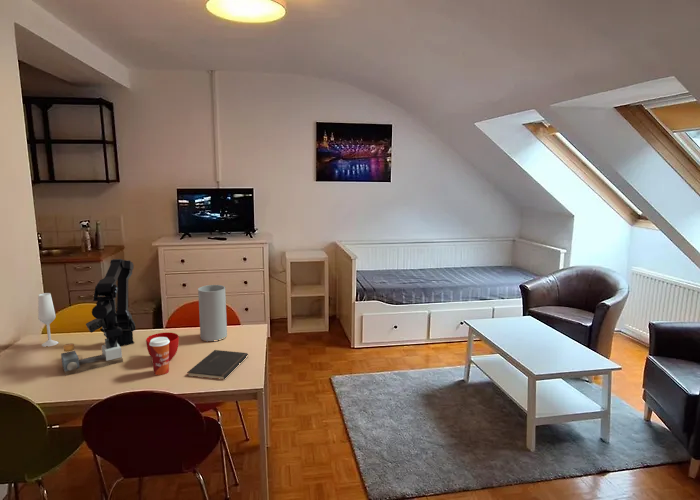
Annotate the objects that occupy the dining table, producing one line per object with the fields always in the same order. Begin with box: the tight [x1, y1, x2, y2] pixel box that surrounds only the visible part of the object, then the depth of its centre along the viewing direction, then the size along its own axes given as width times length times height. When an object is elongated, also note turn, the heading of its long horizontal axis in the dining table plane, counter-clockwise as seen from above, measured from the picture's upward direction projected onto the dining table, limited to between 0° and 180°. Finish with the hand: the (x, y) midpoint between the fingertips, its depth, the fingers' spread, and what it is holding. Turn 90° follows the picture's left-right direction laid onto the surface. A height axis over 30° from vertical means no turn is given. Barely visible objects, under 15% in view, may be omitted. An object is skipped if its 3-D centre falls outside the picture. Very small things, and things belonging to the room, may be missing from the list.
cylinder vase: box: [197, 284, 228, 342], centre depth 221 cm, size 12×12×25 cm
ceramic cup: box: [145, 332, 180, 362], centre depth 198 cm, size 13×17×10 cm
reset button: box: [62, 343, 75, 353], centre depth 185 cm, size 4×4×2 cm
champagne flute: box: [37, 292, 59, 348], centre depth 211 cm, size 7×7×24 cm
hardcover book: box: [186, 349, 249, 380], centre depth 192 cm, size 16×23×2 cm
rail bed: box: [60, 350, 124, 376], centre depth 191 cm, size 21×10×6 cm, turn 129°
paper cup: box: [149, 337, 170, 376], centre depth 184 cm, size 8×8×14 cm
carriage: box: [101, 338, 123, 361], centre depth 195 cm, size 6×8×8 cm
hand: (111, 346), depth 195 cm, fingers closed on carriage, 3 cm apart
